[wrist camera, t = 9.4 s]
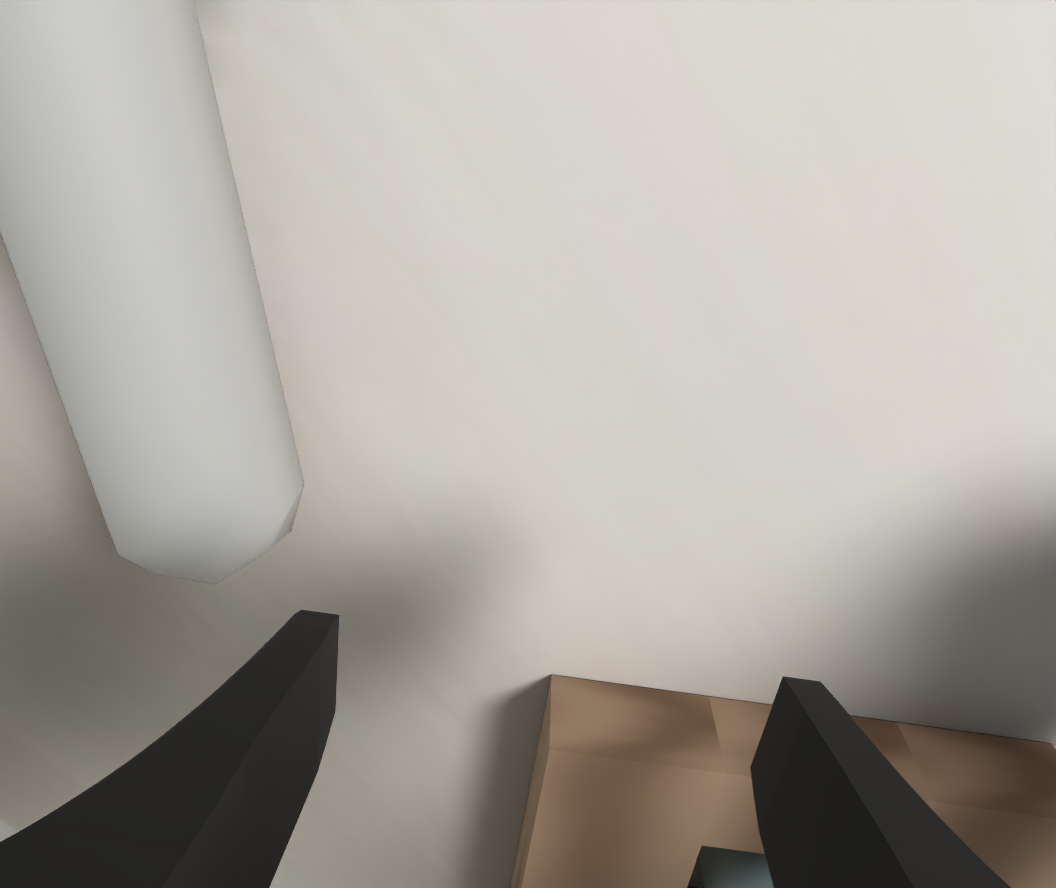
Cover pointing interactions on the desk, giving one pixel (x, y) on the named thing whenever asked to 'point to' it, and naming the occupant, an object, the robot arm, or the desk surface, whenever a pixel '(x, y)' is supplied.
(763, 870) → the peg
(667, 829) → the socket board
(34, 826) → the robot arm
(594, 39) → the desk surface
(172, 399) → the tube
